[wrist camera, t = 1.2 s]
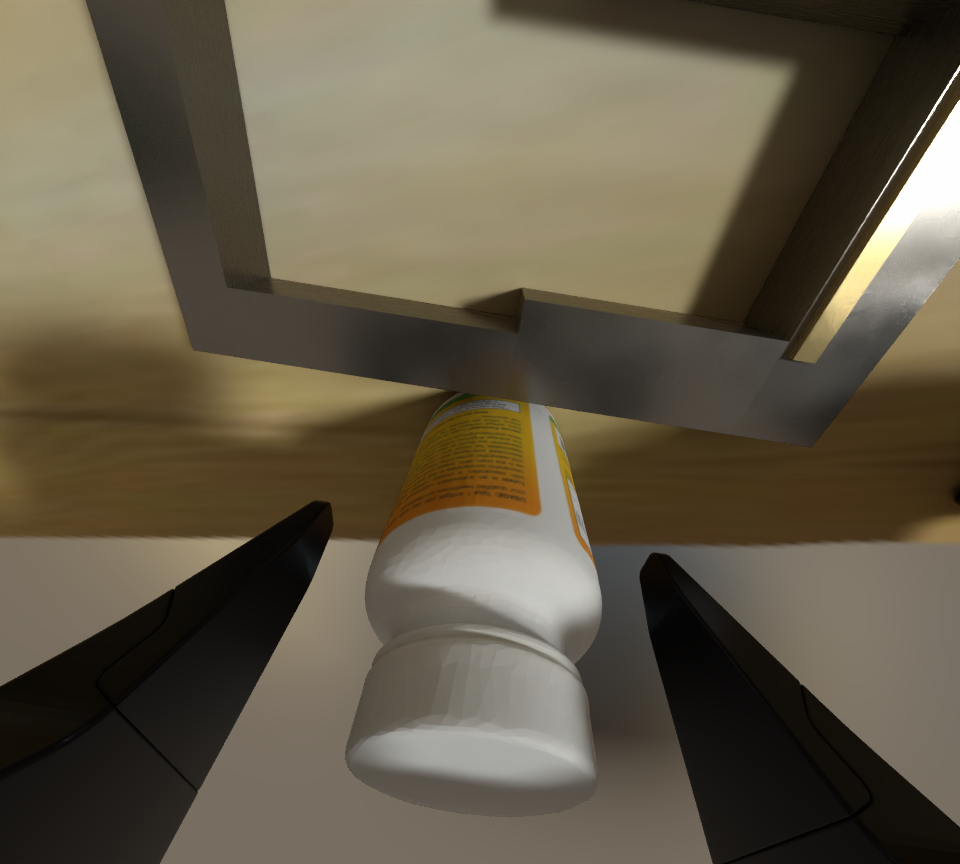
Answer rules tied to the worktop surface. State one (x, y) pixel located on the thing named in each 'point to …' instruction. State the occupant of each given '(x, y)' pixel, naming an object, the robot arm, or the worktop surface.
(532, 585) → the supplement bottle
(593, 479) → the worktop surface
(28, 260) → the worktop surface
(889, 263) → the keyhole plate
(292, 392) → the worktop surface
